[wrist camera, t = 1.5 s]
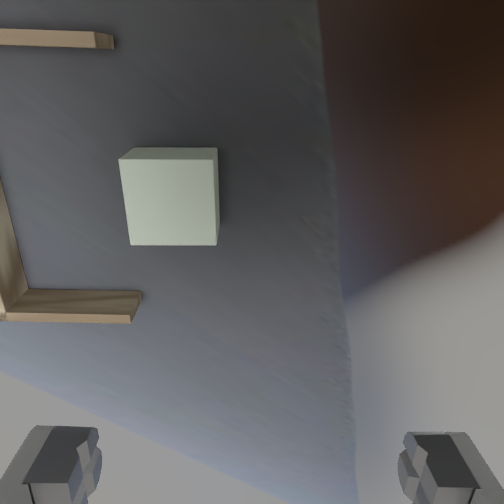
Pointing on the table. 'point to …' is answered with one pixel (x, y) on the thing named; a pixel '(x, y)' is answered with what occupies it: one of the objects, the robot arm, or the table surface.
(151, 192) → the sage block
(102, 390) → the table surface
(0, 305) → the wooden u-shaped bracket
